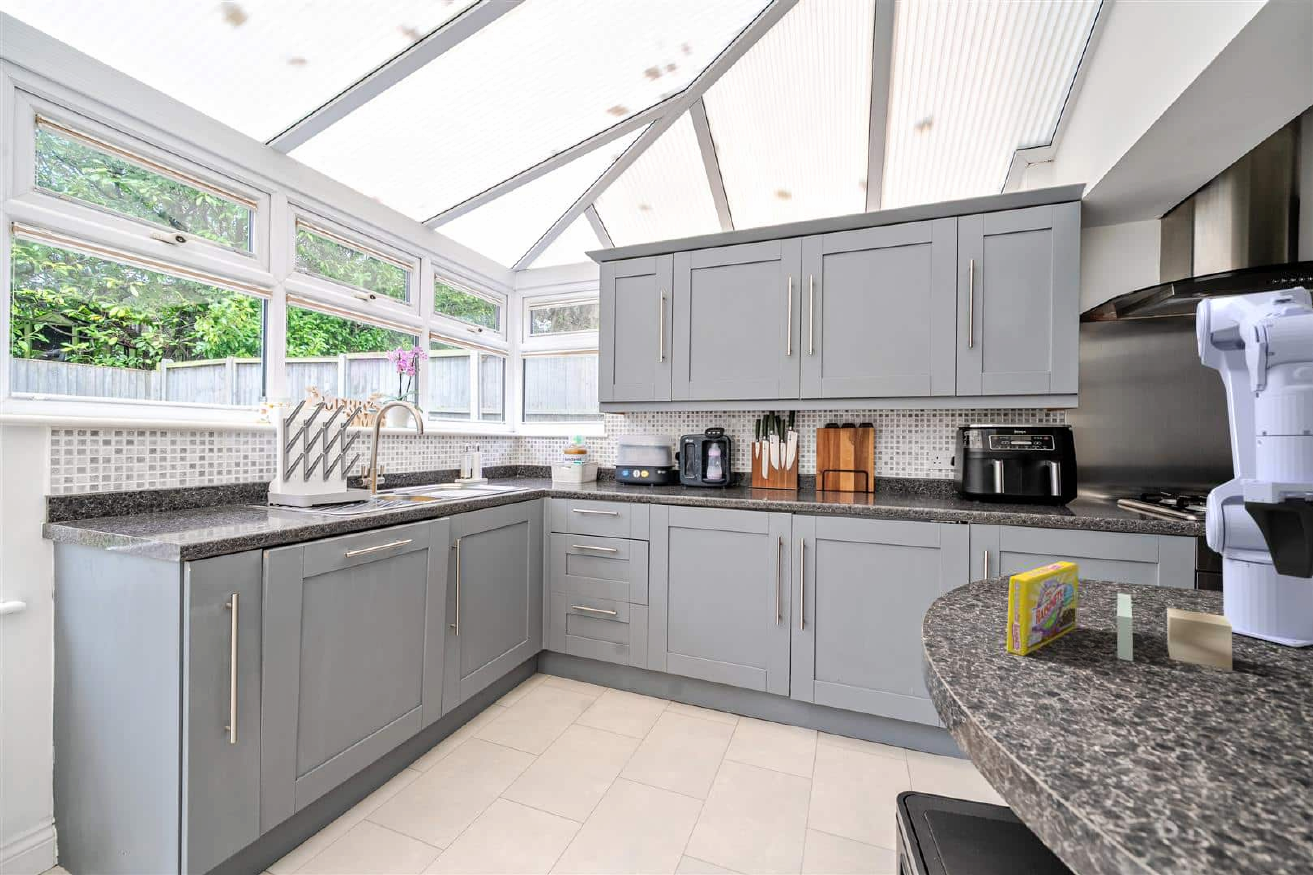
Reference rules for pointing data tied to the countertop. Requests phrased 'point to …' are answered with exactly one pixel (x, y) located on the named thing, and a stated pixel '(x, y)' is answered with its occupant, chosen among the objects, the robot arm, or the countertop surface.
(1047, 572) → the candy box
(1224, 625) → the maple block
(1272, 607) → the robot arm
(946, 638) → the countertop surface
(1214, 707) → the countertop surface
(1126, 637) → the sage board
